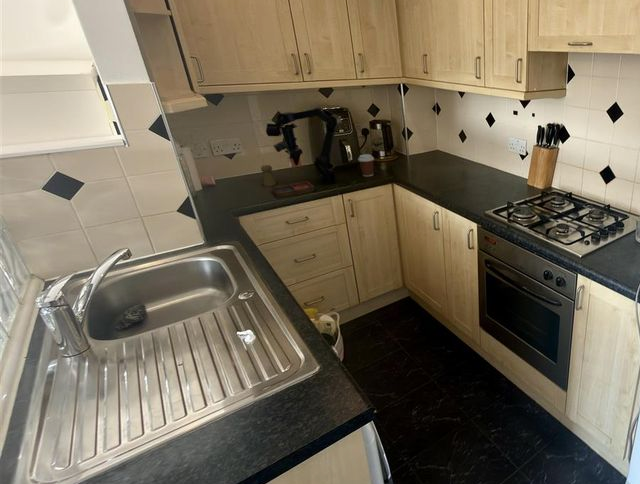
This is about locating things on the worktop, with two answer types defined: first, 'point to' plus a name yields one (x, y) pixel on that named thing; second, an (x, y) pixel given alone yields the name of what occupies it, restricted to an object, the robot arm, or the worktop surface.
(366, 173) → the coffee cup
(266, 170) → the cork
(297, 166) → the terracotta block
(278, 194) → the sorting tray
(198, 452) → the worktop surface
